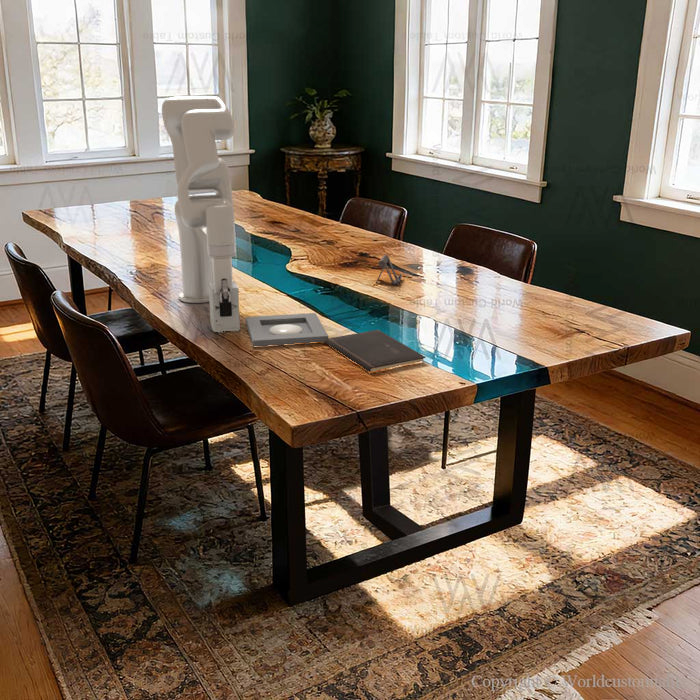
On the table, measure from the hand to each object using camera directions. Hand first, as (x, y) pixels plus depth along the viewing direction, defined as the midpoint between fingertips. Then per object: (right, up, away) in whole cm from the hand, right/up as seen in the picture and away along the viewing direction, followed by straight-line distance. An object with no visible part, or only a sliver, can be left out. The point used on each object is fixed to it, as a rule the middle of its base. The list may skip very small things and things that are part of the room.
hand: (224, 311), depth 219 cm
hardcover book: (+41, -12, -15) cm, 45 cm away
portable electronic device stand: (+47, +12, +49) cm, 69 cm away
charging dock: (+17, -6, -1) cm, 18 cm away
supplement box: (0, -5, +2) cm, 5 cm away
